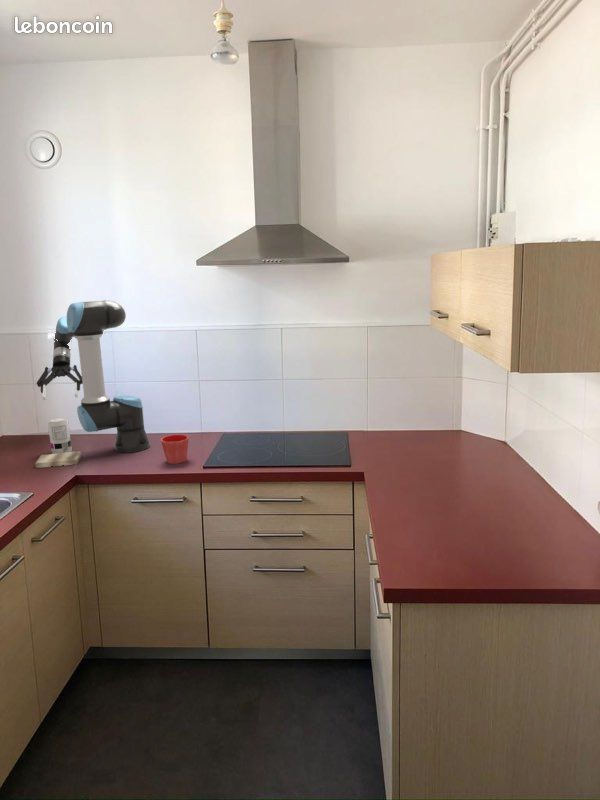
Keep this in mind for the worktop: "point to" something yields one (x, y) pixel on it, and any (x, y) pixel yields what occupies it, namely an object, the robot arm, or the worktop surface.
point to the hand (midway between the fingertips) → (60, 397)
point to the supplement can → (59, 435)
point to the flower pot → (175, 448)
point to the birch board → (58, 459)
